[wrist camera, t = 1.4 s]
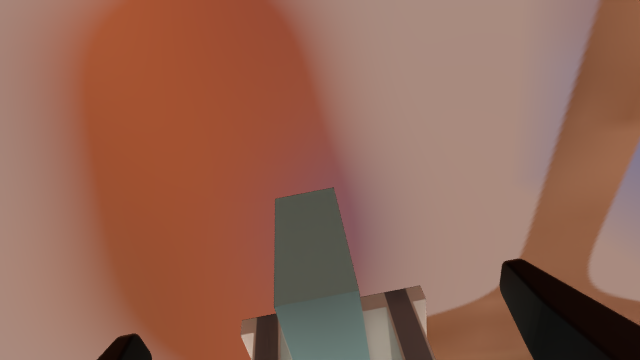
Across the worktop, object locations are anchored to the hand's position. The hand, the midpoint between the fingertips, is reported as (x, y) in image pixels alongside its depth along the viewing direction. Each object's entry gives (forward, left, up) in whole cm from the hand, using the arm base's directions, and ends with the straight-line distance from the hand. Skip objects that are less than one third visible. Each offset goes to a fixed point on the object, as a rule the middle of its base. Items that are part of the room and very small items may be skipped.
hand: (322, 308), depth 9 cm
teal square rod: (-7, 0, -4) cm, 9 cm away
